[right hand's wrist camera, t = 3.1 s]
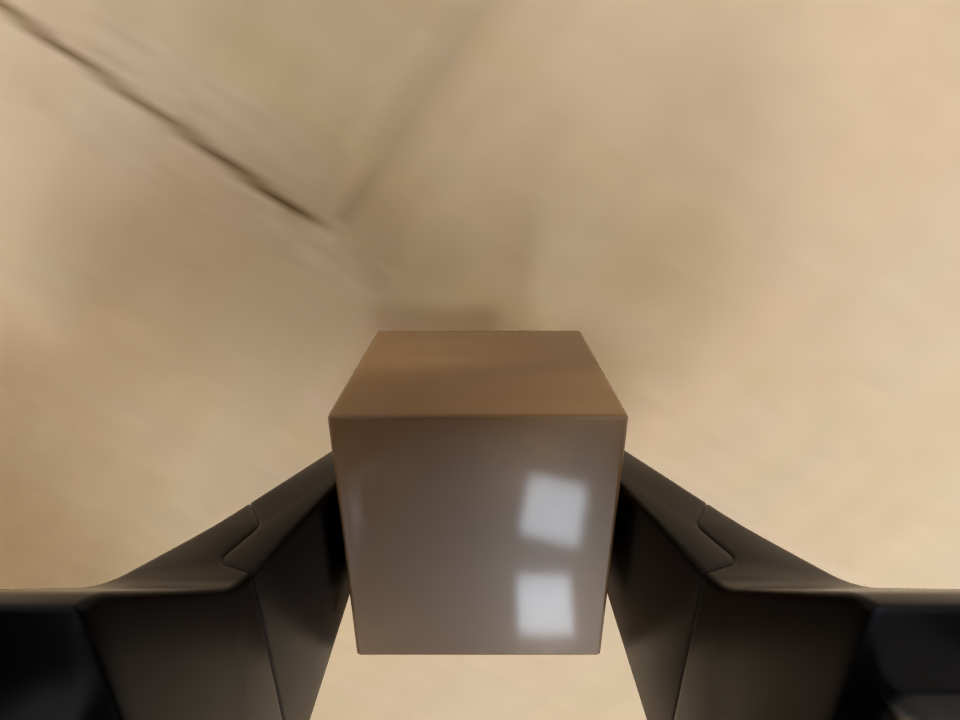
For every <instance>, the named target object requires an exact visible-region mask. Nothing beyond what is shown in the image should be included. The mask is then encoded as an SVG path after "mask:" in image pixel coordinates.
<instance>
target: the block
mask: <svg viewBox="0 0 960 720" xmlns="http://www.w3.org/2000/svg"><path fill="white" fill-rule="evenodd" d="M328 422H329V430H330V438H331V446H332V454H333V462H334V470H335V478H336V486H337V494H338V502H339V510H340V518H341V526H342V534H343V542H344V550H345V558H346V566H347V574H348V582H349V590H350V598H351V606H352V614H353V622H354V630H355V638H356V646H357V652H358V654H360V655H597V654H599V653H600V647H601V639H602V631H603V622H604V614H605V606H606V597H607V589H608V581H609V572H610V564H611V556H612V547H613V539H614V531H615V522H616V514H617V506H618V497H619V489H620V481H621V472H622V464H623V456H624V447H625V439H626V431H627V422H628V416H627V414H626V412H625V410H624V408H623V407H622V405H621V403H620V401H619V400H618V398H617V396H616V394H615V392H614V391H613V389H612V387H611V385H610V384H609V382H608V380H607V378H606V377H605V375H604V373H603V371H602V370H601V368H600V366H599V364H598V363H597V361H596V359H595V357H594V356H593V354H592V352H591V350H590V349H589V347H588V345H587V343H586V342H585V340H584V338H583V336H582V335H581V333H580V332H579V331H379V332H377V334H376V335H375V337H374V339H373V341H372V342H371V344H370V346H369V347H368V349H367V351H366V352H365V354H364V356H363V358H362V359H361V361H360V363H359V364H358V366H357V368H356V370H355V371H354V373H353V375H352V376H351V378H350V380H349V381H348V383H347V385H346V387H345V388H344V390H343V392H342V393H341V395H340V397H339V398H338V400H337V402H336V404H335V405H334V407H333V409H332V410H331V412H330V414H329V416H328Z"/></svg>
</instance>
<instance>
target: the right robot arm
mask: <svg viewBox="0 0 960 720" xmlns="http://www.w3.org/2000/svg"><path fill="white" fill-rule="evenodd" d="M607 593H608V597H609V600H610V603H611V606H612V609H613V613H614V616H615V619H616V622H617V625H618V629H619V632H620V635H621V638H622V641H623V644H624V648H625V651H626V654H627V657H628V660H629V664H630V667H631V670H632V673H633V676H634V680H635V683H636V686H637V689H638V692H639V695H640V699H641V702H642V705H643V708H644V711H645V715H646V718H647V720H960V589H901V588H870V587H864V586H859V585H856V584H852V583H849V582H846V581H844V580H841V579H839V578H837V577H834V576H832V575H830V574H828V573H827V572H825V571H823V570H821V569H819V568H817V567H816V566H814V565H812V564H810V563H808V562H806V561H805V560H803V559H801V558H799V557H797V556H795V555H794V554H792V553H790V552H788V551H786V550H784V549H783V548H781V547H779V546H777V545H775V544H773V543H772V542H770V541H768V540H766V539H764V538H763V537H761V536H759V535H757V534H755V533H754V532H752V531H750V530H748V529H747V528H745V527H743V526H741V525H740V524H738V523H737V522H735V521H733V520H732V519H730V518H728V517H727V516H725V515H724V514H722V513H720V512H719V511H717V510H716V509H714V508H713V507H711V506H710V505H706V503H705V502H703V501H702V500H700V499H699V498H697V497H696V496H694V495H692V494H691V493H689V492H688V491H686V490H685V489H683V488H682V487H680V486H679V485H677V484H675V483H674V482H672V481H671V480H669V479H668V478H666V477H665V476H663V475H662V474H660V473H658V472H657V471H655V470H654V469H652V468H651V467H649V466H648V465H646V464H645V463H643V462H641V461H640V460H638V459H637V458H635V457H634V456H632V455H631V454H629V453H627V452H626V451H624V456H623V464H622V472H621V481H620V489H619V497H618V506H617V514H616V522H615V531H614V539H613V547H612V556H611V564H610V572H609V581H608V589H607ZM349 595H350V590H349V582H348V574H347V566H346V558H345V550H344V542H343V534H342V526H341V518H340V510H339V502H338V494H337V486H336V478H335V470H334V462H333V454H332V452H330V453H328V454H327V455H325V456H324V457H322V458H321V459H319V460H318V461H316V462H314V463H313V464H311V465H310V466H308V467H307V468H305V469H303V470H302V471H300V472H299V473H297V474H296V475H294V476H293V477H291V478H289V479H288V480H286V481H285V482H283V483H282V484H280V485H278V486H277V487H275V488H274V489H272V490H271V491H269V492H268V493H266V494H264V495H263V496H261V497H260V498H258V499H257V500H255V501H253V502H252V503H251V505H247V506H246V507H244V508H242V509H241V510H239V511H238V512H236V513H235V514H233V515H231V516H230V517H228V518H227V519H225V520H223V521H222V522H220V523H218V524H217V525H215V526H213V527H212V528H210V529H208V530H206V531H205V532H203V533H201V534H199V535H197V536H196V537H194V538H192V539H190V540H188V541H187V542H185V543H183V544H181V545H179V546H177V547H175V548H174V549H172V550H170V551H168V552H166V553H164V554H163V555H161V556H159V557H157V558H155V559H153V560H151V561H150V562H148V563H146V564H144V565H142V566H140V567H139V568H137V569H135V570H133V571H131V572H129V573H127V574H125V575H123V576H121V577H119V578H117V579H115V580H112V581H109V582H107V583H104V584H100V585H96V586H92V587H85V588H55V589H0V720H310V717H311V714H312V711H313V708H314V705H315V702H316V698H317V695H318V692H319V689H320V686H321V683H322V679H323V676H324V673H325V670H326V667H327V664H328V661H329V657H330V654H331V651H332V648H333V645H334V642H335V639H336V635H337V632H338V629H339V626H340V623H341V620H342V617H343V613H344V610H345V607H346V604H347V601H348V598H349Z"/></svg>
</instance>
